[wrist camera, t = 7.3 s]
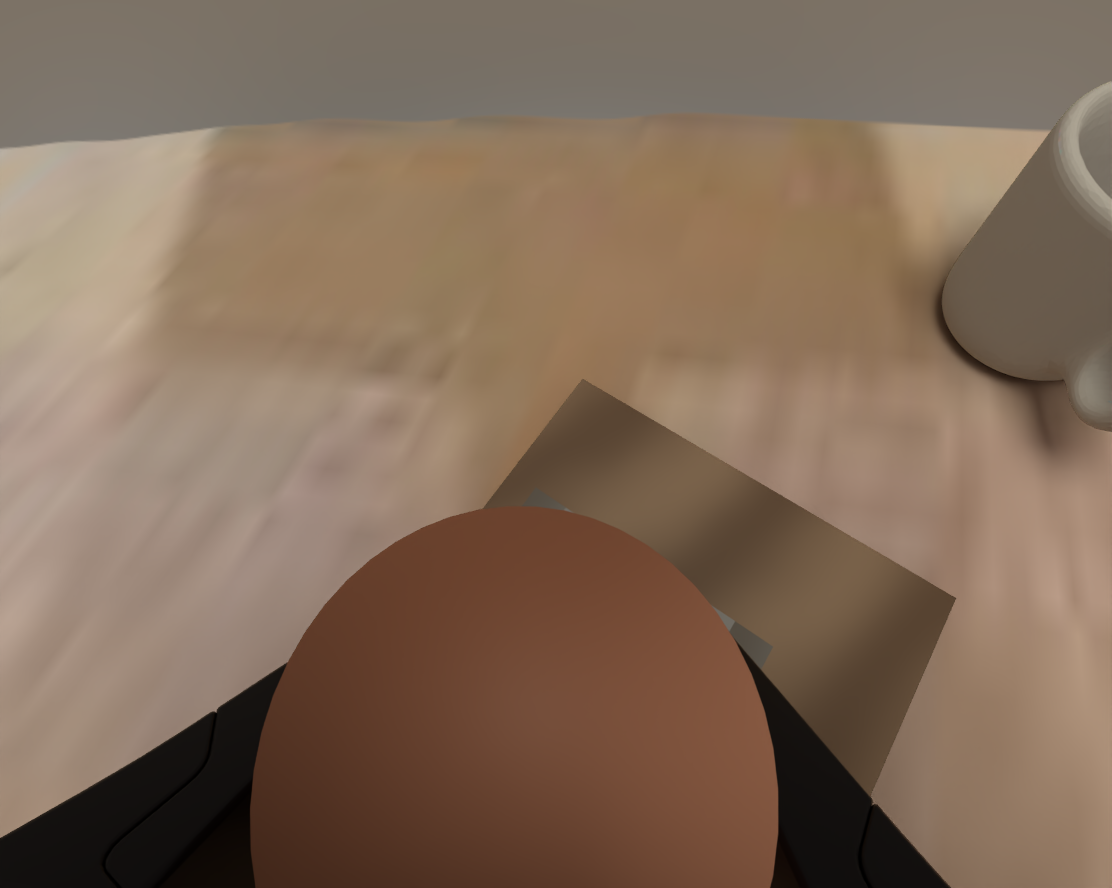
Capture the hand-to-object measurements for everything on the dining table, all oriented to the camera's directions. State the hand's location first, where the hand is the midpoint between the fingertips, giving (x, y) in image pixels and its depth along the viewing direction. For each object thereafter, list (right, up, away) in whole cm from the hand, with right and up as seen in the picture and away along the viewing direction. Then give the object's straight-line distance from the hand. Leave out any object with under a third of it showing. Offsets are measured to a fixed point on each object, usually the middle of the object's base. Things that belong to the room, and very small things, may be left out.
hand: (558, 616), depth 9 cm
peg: (0, -4, +6) cm, 7 cm away
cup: (+19, +7, +13) cm, 24 cm away
